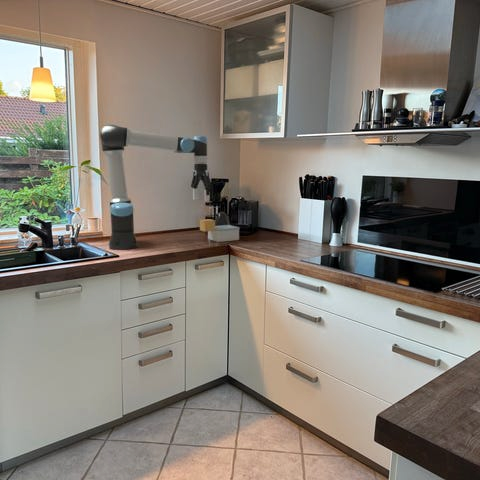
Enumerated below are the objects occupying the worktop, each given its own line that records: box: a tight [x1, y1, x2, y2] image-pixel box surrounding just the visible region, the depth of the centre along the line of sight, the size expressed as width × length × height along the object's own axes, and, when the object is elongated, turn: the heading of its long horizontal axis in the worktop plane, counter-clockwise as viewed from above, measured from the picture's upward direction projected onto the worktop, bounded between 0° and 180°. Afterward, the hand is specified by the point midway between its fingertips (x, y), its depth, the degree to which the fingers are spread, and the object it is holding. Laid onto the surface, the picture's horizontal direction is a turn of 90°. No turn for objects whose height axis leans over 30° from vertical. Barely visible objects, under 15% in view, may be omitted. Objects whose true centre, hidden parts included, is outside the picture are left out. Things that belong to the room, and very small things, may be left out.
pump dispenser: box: [214, 211, 230, 226], centre depth 273 cm, size 10×10×15 cm
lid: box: [199, 218, 241, 232], centre depth 254 cm, size 21×13×7 cm, turn 122°
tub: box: [207, 230, 240, 243], centre depth 256 cm, size 14×12×7 cm
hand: (201, 200), depth 257 cm, fingers open, 13 cm apart
